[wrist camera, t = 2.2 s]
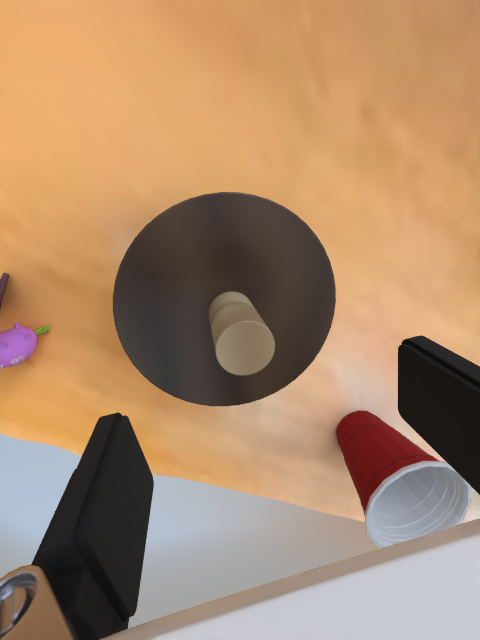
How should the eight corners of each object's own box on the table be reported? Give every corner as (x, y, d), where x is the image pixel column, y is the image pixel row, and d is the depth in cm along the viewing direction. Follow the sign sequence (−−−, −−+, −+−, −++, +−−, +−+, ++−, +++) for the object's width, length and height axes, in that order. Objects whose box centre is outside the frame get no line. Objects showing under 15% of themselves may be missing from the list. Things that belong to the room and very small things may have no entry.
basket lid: (155, 417, 23) (143, 494, 17) (80, 220, 17) (21, 227, 11) (335, 370, 24) (386, 425, 18) (319, 171, 19) (383, 153, 12)
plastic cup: (384, 377, 37) (468, 450, 26) (401, 437, 41) (480, 522, 30) (305, 415, 37) (355, 504, 26) (330, 471, 41) (383, 568, 30)
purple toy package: (-27, 301, 20) (-52, 406, 22) (61, 318, 23) (30, 410, 25) (-7, 269, 25) (-30, 357, 27) (62, 287, 28) (37, 365, 31)
